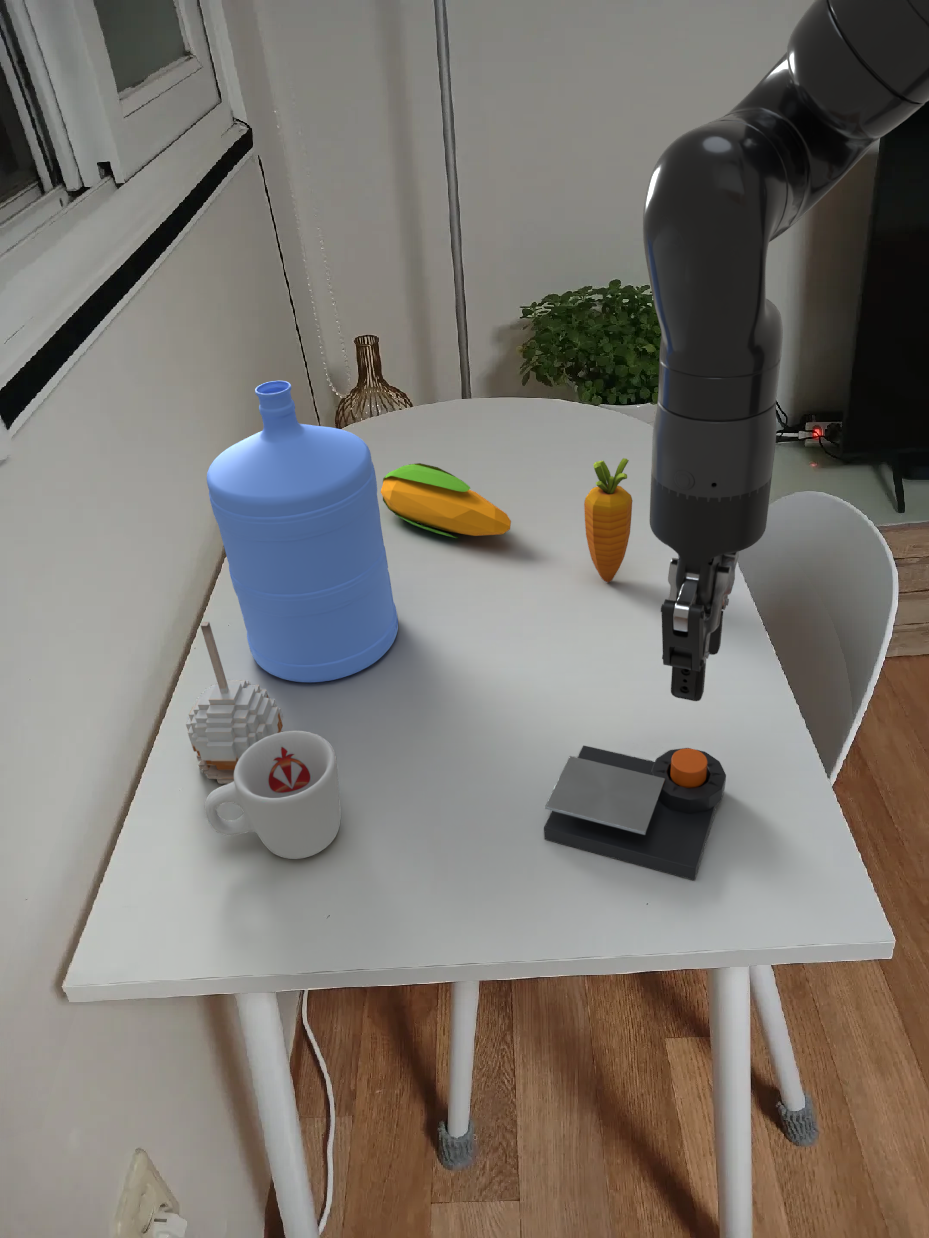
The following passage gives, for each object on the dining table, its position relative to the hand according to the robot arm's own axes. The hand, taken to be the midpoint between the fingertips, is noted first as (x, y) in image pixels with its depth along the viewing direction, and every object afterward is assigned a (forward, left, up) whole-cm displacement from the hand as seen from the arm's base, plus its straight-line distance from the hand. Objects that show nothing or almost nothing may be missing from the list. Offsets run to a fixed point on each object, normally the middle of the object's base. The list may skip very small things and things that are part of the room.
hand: (696, 671), depth 70 cm
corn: (+38, -35, -14) cm, 53 cm away
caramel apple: (+39, +8, -14) cm, 42 cm away
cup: (+30, +15, -14) cm, 36 cm away
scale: (+4, +3, -13) cm, 14 cm away
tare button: (0, 0, -11) cm, 11 cm away
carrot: (+16, -29, -14) cm, 36 cm away
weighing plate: (+6, +4, -10) cm, 13 cm away
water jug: (+41, -10, -14) cm, 44 cm away
